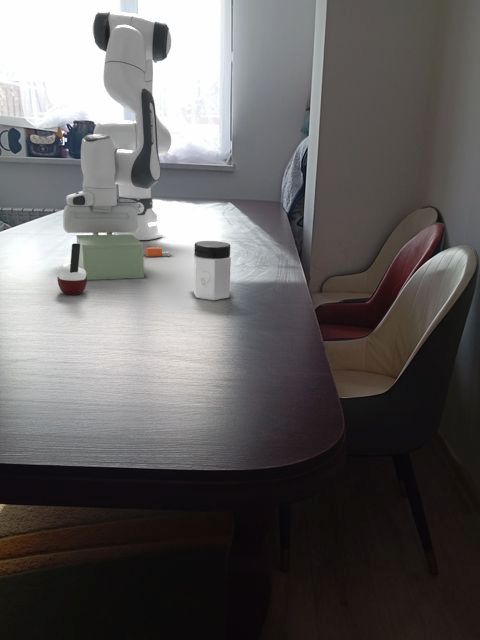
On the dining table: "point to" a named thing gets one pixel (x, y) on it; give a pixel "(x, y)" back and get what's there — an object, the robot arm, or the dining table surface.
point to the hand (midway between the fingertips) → (102, 248)
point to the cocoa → (72, 274)
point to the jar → (212, 270)
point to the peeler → (156, 252)
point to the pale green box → (111, 256)
